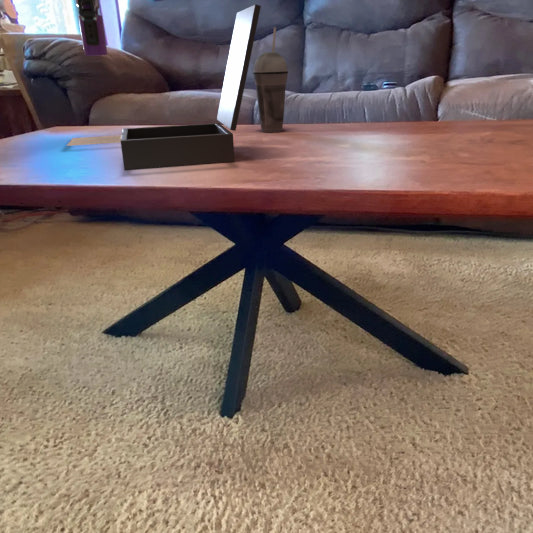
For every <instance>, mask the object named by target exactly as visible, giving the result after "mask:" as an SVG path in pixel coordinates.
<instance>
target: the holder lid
mask: <svg viewBox="0 0 533 533" xmlns="http://www.w3.org/2000/svg"><path fill="white" fill-rule="evenodd" d="M261 7H262V6H261V5H260V4H256V3H255V4H253V5H251V6H248V7H247V8H244V9H242V10H240V11H238V12H237V11H236V16H235V21H234V27H233V31H232V36H231V42H230V47H229V52H228V58H227V63H226V68H225V74H224V77H223V78H224V79H223V85H222V90H221V95H220V100H219V104H218V110H217V116H216V120H217V121H218V123H220V124H221V125H222V126H224V127H225V128H226V129H228V130H229V131H234V132H236V130H237V126H238V120H239V116H240V112H241V106H242V101H243V96H244V92H245V86H246V82H247V77H248V72H249V68H250V62H251V57H252V52H253V48H254V42H255V38H256V32H257V28H258V23H259V18H260V12H261V9H262V8H261Z"/></svg>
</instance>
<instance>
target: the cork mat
mask: <svg viewBox="0 0 533 533" xmlns="http://www.w3.org/2000/svg"><path fill="white" fill-rule="evenodd" d="M121 136H122V134H118V135H117V134H116V135H99V136H86V137H85V136H82V137H81V136H80V137H72V138H71V140H69V142H68V143H67V145H66V147H69V146H71V147H73V146H86V145H88V146H89V145H101V144H102V145H103V144H117V143H118V144H119V143H120V144H121Z"/></svg>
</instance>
